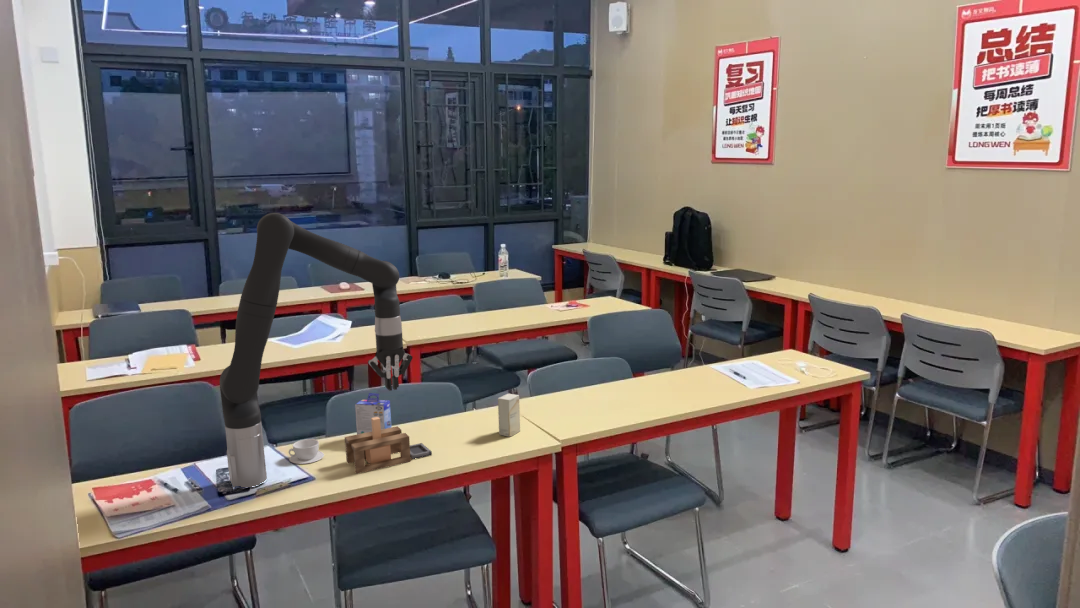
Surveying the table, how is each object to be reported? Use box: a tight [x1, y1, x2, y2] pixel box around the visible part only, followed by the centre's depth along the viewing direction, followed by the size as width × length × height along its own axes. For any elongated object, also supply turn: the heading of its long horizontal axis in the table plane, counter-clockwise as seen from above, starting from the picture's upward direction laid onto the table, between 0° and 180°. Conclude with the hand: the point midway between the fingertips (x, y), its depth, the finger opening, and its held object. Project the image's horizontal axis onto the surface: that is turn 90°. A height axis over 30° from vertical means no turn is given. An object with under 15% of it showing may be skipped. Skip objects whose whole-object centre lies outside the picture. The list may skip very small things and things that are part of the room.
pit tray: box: [410, 442, 433, 460], centre depth 229 cm, size 6×8×1 cm
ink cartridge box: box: [354, 392, 392, 435], centre depth 240 cm, size 10×6×14 cm, turn 78°
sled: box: [365, 417, 392, 464], centre depth 222 cm, size 6×5×13 cm
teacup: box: [288, 438, 325, 465], centre depth 227 cm, size 10×10×5 cm
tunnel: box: [344, 425, 412, 475], centre depth 223 cm, size 16×10×8 cm, turn 120°
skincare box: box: [497, 393, 521, 437], centre depth 243 cm, size 6×4×12 cm
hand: (392, 389), depth 222 cm, fingers closed
